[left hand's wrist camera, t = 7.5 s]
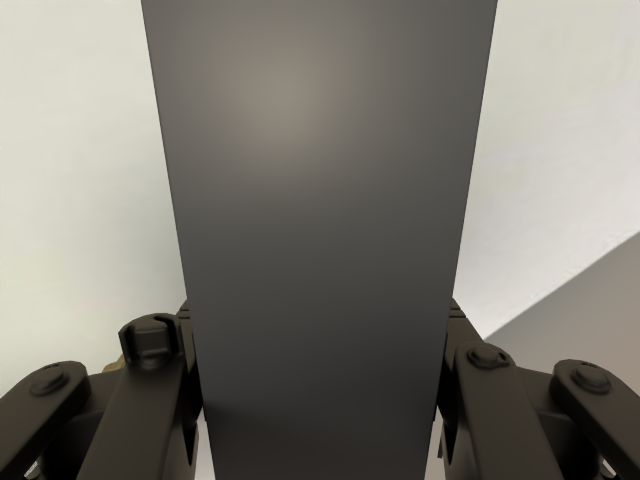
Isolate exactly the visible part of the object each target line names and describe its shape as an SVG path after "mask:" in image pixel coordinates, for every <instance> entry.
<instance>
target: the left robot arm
mask: <svg viewBox="0 0 640 480" xmlns="http://www.w3.org/2000/svg"><path fill="white" fill-rule="evenodd" d="M118 335H119V339H120V343H121V347H122V351H123V355H124V359H125V365H124V367H123V368H121V369H117V370H113V371H109V372H104V373H99V374H94V375H90V376H88V374H87V370H86V367H85V366H84V365H83V364H82V363H80V362H75V361H64V362H57V363H53V364H50V365H47V366H44V367H42V368H40V369H38V370H36V371H34V372H32V373H31V374H29V375H28V376H26V377H25V378H24V379H22V380H21V381H20V382H19V383H17V384H16V385H15V386H14V387H13V388H12V389H11V390H10V391H9V392H7V393H6V394H5V395H4V396H3V397H2V398H1V399H0V480H194V478H195V469H196V459H197V450H198V440H199V432H198V426H197V419H198V416H199V414H200V411H201V409H202V406H203V411H204V417H205V421H206V416H205V409H204V403H203V396H202V390H201V383H200V377H199V371H198V364H197V358H196V351H195V345H194V339H193V332H192V326H191V319H190V313H189V306H188V300H186V301H185V302H184V304H183V305H182V306H181V308H180V309H179V311H178V312H177V314H176V315H172V314H168V313H155V314H150V315H145V316H142V317H140V318H137V319H135V320H132V321H131V322H129V323H128V324H126V325H125V326H123V328H122V329H121V330H120V331H119V332H118ZM437 405H438V408H439V410H440V413H441V415H442V418H443V426H442V432H441V438H440V444H439V450H438V458H442V456H443V458H444V468H445V477H446V480H640V397H639V396H638V395H637V394H636V393H635V392H634V391H633V390H631V389H630V388H629V387H628V386H627V385H626V384H625V383H624V382H623V381H621V380H620V379H619V378H617V377H616V376H615V375H613V374H612V373H611V372H609V371H607V370H605V369H603V368H601V367H599V366H597V365H595V364H592V363H588V362H585V361H581V360H572V359H567V360H561V361H559V362H558V363H557V364H555V366H554V369H553V373H552V374H548V373H543V372H538V371H534V370H529V369H525V368H521V367H518V366H516V364H515V362H514V361H513V359H512V358H511V356H510V355H509V354H507V353H506V352H505V351H503V350H502V349H501V348H498V347H496V346H494V345H492V344H489V343H485V342H484V341H483V340H482V338H481V337H480V335H479V334H478V333H477V331H476V330H475V328H474V327H473V325H472V324H471V323H470V321H469V320H468V318H466V315H465V314H464V313H463V311H462V310H461V308H460V307H459V305H458V304H457V302H456V301H455V300H454V299H453V298H452V302H451V308H450V315H449V321H448V328H447V334H446V341H445V347H444V354H443V360H442V367H441V373H440V380H439V386H438V393H437V399H436V406H435V413H434V419H433V421H435V416H436V409H437ZM604 459H605V460H606V461H607V463H608V464H609V465H610V466H611V467H612V469H613V470H614V471H615V472H616V475H615V476H614V475H613V474H612V473H611V472H610V471H609V470H608V469H607V468H606V467H605V466H604V464H603V460H604ZM35 461H37V464H38V465H37V466H36V467H35V468H34V470H33V471H32V472H31V473H30V474H29V475H28V476H27V477H25V476H24V475H25V473H26V472H27V471H28V470H29V468H30V467H31V466H32V465H33V464H34V462H35Z"/></svg>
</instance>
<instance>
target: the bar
mask: <svg viewBox="0 0 640 480" xmlns="http://www.w3.org/2000/svg"><path fill="white" fill-rule="evenodd" d="M497 2H498V0H141V5H142V11H143V18H144V24H145V30H146V37H147V43H148V50H149V56H150V63H151V69H152V75H153V82H154V88H155V95H156V101H157V107H158V114H159V120H160V127H161V133H162V140H163V146H164V152H165V159H166V165H167V172H168V178H169V184H170V191H171V197H172V204H173V210H174V217H175V223H176V229H177V236H178V242H179V249H180V255H181V262H182V268H183V274H184V281H185V287H186V294H187V300H188V306H189V313H190V319H191V326H192V332H193V339H194V345H195V351H196V358H197V364H198V371H199V377H200V383H201V390H202V396H203V403H204V409H205V416H206V422H207V428H208V435H209V441H210V448H211V454H212V460H213V467H214V473H215V480H424V478H425V471H426V465H427V458H428V452H429V445H430V439H431V432H432V426H433V419H434V413H435V406H436V399H437V393H438V386H439V380H440V373H441V367H442V360H443V354H444V347H445V341H446V334H447V328H448V321H449V315H450V308H451V302H452V295H453V289H454V282H455V276H456V269H457V263H458V256H459V250H460V243H461V236H462V230H463V223H464V217H465V210H466V204H467V197H468V191H469V184H470V178H471V171H472V165H473V158H474V152H475V145H476V139H477V132H478V126H479V119H480V113H481V106H482V100H483V93H484V86H485V80H486V73H487V67H488V60H489V54H490V47H491V41H492V34H493V28H494V21H495V15H496V8H497Z"/></svg>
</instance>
